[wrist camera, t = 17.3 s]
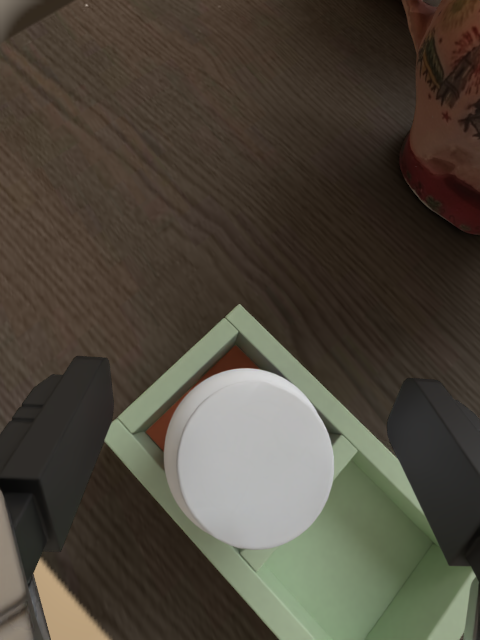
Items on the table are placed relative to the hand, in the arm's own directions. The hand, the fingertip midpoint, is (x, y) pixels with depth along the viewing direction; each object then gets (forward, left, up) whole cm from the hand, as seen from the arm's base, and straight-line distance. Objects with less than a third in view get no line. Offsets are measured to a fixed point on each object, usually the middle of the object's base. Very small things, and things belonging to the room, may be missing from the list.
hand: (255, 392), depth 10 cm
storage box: (+2, -4, -10) cm, 11 cm away
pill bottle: (0, -2, -9) cm, 9 cm away
